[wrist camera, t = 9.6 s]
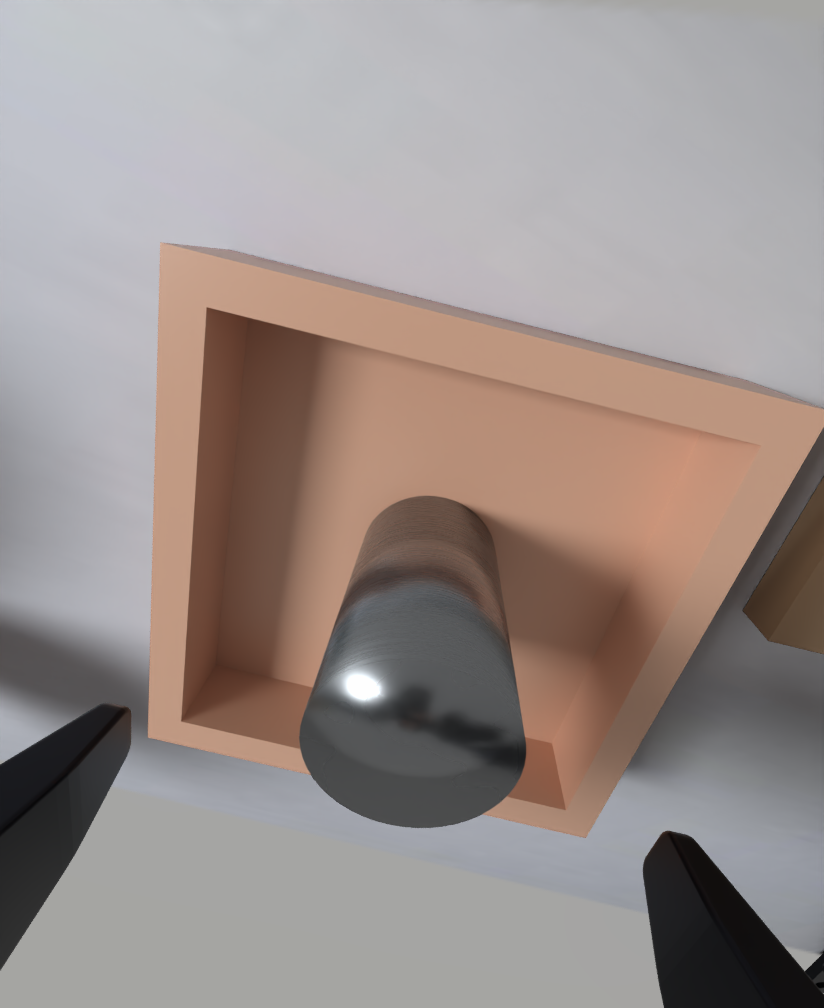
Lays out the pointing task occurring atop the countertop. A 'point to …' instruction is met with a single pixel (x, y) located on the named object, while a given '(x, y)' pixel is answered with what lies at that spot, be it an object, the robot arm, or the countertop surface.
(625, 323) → the countertop surface
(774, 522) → the countertop surface
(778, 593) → the walnut collar
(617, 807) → the countertop surface
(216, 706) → the terracotta tray
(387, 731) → the gunmetal pin
